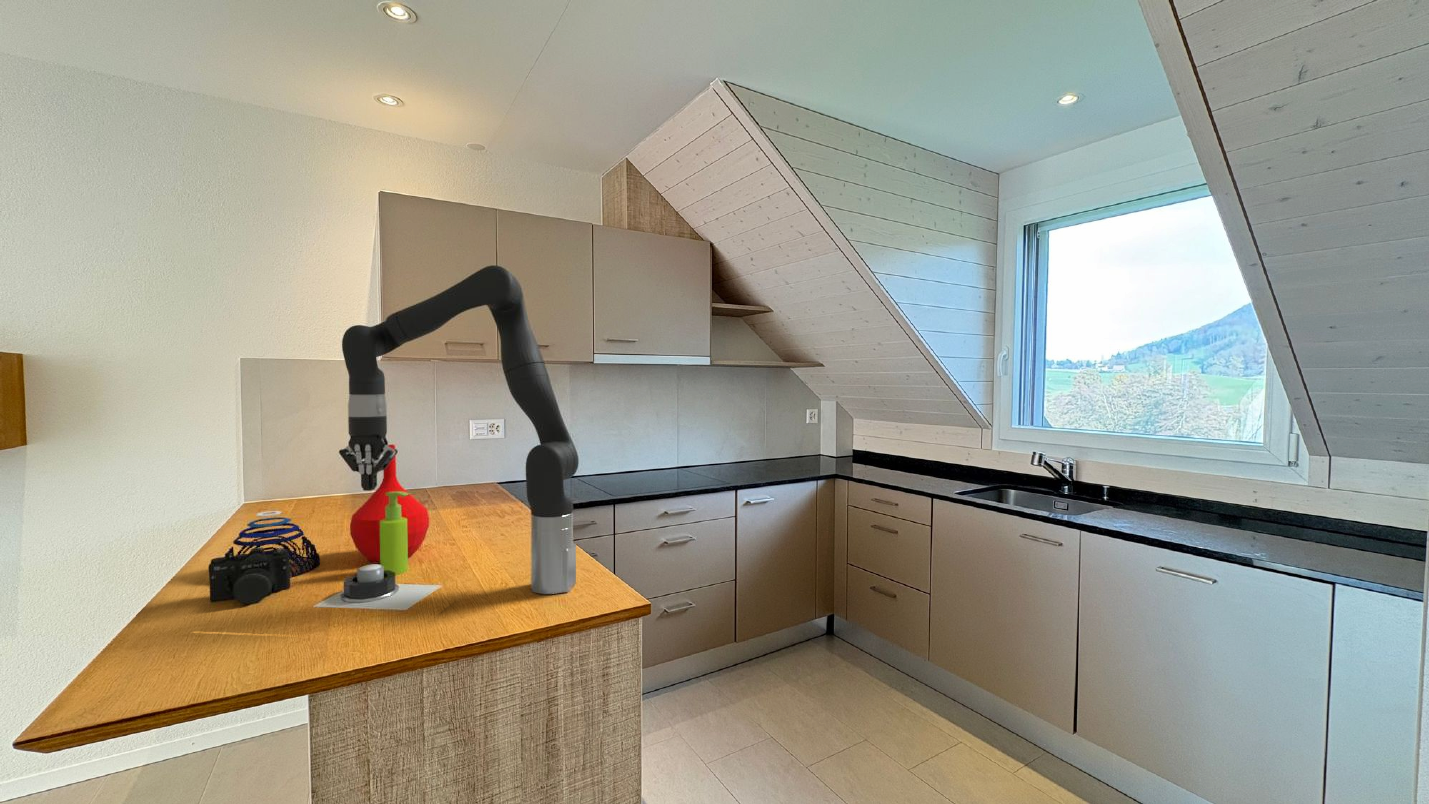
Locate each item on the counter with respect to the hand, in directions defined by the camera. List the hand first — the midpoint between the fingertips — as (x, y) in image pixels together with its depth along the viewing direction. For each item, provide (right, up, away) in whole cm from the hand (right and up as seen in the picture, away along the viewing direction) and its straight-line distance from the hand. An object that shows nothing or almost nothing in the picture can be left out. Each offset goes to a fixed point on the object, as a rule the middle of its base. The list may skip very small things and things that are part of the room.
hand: (369, 490), depth 134 cm
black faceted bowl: (+3, -22, -5) cm, 23 cm away
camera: (-21, -23, -8) cm, 32 cm away
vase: (-7, -21, +21) cm, 31 cm away
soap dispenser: (+1, -22, +9) cm, 24 cm away
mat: (+6, -22, -7) cm, 24 cm away
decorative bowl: (-30, -22, +10) cm, 39 cm away
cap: (+4, -21, -5) cm, 22 cm away
